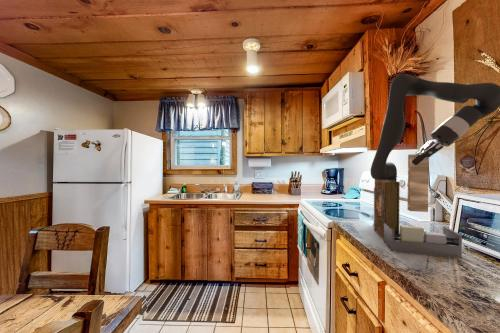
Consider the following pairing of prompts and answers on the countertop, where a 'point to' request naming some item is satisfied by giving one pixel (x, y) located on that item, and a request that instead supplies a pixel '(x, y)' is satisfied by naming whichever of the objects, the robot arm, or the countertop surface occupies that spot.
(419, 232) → the sage offcut
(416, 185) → the birch board
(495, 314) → the countertop surface
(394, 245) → the rack
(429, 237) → the pale grey block
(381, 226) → the book
